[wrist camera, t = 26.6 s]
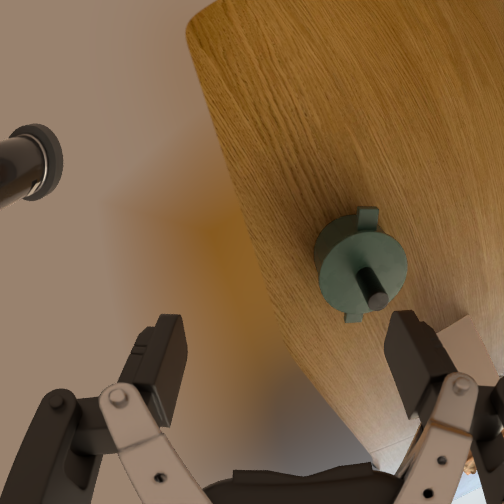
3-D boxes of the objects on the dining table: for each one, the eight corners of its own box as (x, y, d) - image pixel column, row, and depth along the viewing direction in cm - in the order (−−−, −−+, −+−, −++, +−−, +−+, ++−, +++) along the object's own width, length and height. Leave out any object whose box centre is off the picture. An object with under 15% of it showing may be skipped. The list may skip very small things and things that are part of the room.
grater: (473, 348, 52) (516, 421, 34) (429, 373, 54) (464, 452, 36) (468, 314, 48) (522, 392, 30) (420, 342, 50) (462, 429, 32)
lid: (314, 310, 41) (321, 345, 35) (320, 227, 36) (332, 254, 30) (395, 306, 40) (412, 338, 34) (410, 228, 35) (435, 252, 29)
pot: (310, 300, 47) (316, 327, 41) (316, 194, 40) (326, 210, 34) (377, 297, 46) (390, 323, 41) (392, 196, 40) (412, 212, 34)
